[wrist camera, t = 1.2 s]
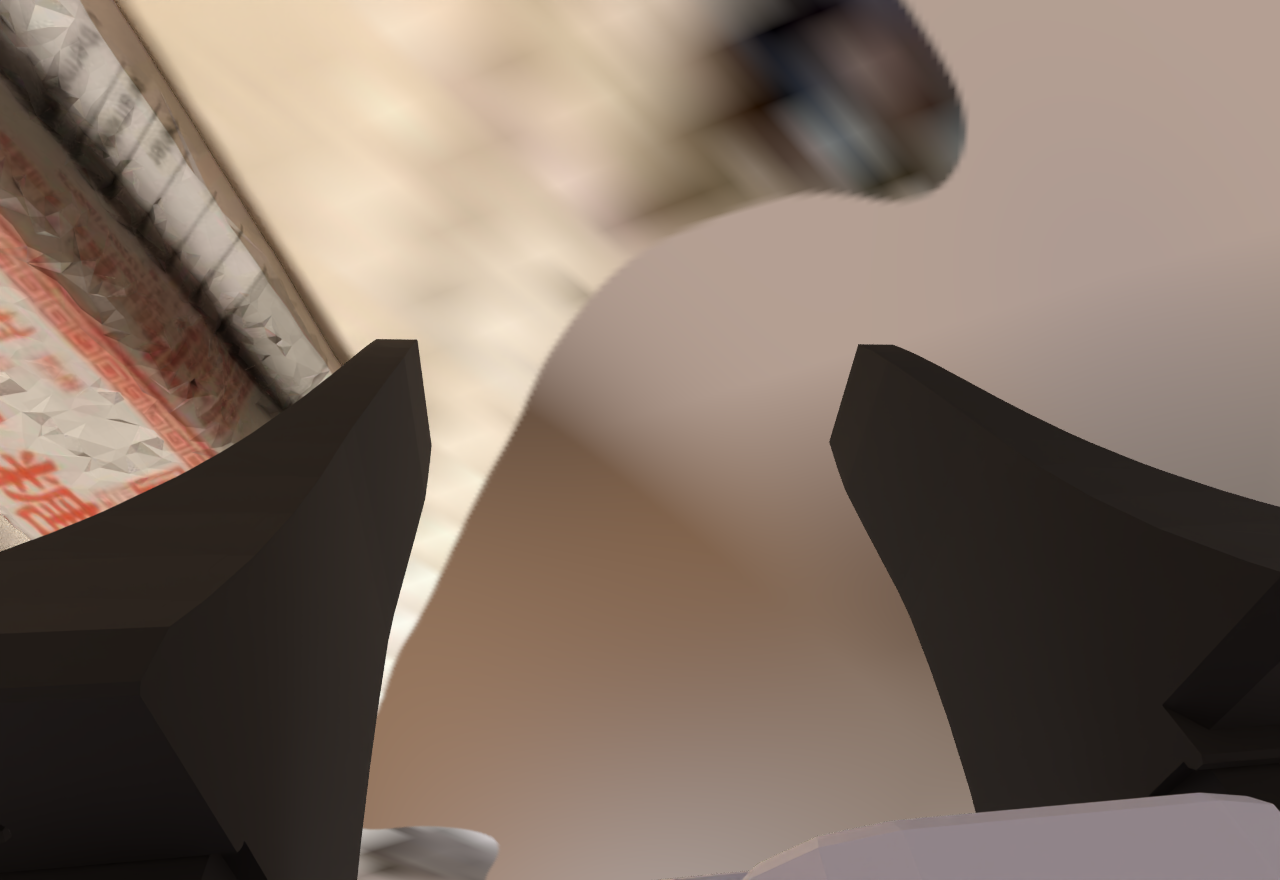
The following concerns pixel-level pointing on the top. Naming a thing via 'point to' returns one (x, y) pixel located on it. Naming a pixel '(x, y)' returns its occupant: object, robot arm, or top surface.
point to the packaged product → (124, 278)
